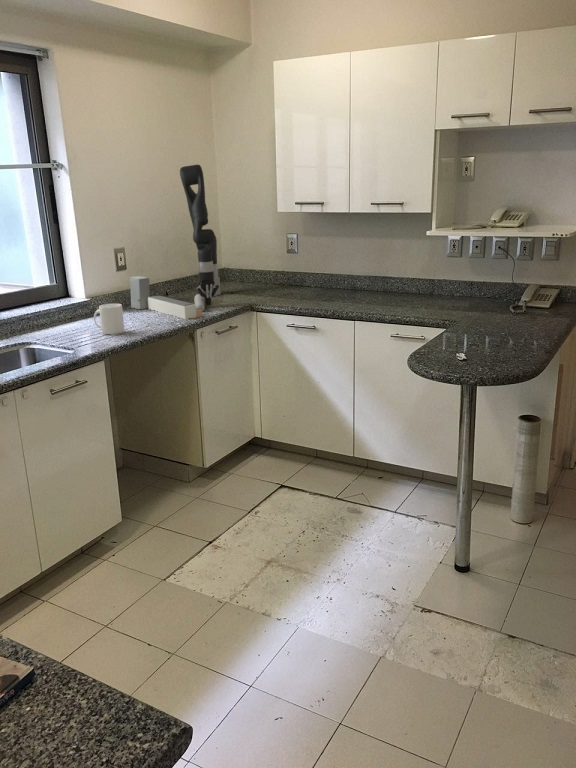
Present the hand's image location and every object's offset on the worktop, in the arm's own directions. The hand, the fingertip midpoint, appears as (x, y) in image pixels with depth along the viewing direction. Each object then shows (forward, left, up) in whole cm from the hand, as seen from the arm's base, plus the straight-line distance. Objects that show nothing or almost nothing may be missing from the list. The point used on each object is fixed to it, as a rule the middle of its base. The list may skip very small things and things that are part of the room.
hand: (208, 304), depth 329 cm
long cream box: (+20, 0, -1) cm, 20 cm away
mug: (+61, +17, -1) cm, 63 cm away
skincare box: (+25, -24, -1) cm, 34 cm away
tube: (+4, -2, -2) cm, 5 cm away
